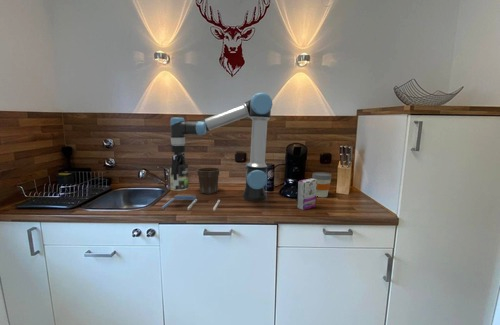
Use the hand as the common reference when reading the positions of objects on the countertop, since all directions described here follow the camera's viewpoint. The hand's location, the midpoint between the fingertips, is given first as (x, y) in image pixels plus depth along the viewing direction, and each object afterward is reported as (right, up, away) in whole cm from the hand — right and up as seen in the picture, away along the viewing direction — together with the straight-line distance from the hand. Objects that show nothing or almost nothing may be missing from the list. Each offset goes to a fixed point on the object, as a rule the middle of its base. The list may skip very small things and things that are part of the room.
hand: (179, 183), depth 138 cm
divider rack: (+7, -13, +2) cm, 15 cm away
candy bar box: (+74, -14, 0) cm, 76 cm away
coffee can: (0, -3, +1) cm, 3 cm away
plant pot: (+12, -9, +30) cm, 34 cm away
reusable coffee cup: (+90, -11, +24) cm, 93 cm away
